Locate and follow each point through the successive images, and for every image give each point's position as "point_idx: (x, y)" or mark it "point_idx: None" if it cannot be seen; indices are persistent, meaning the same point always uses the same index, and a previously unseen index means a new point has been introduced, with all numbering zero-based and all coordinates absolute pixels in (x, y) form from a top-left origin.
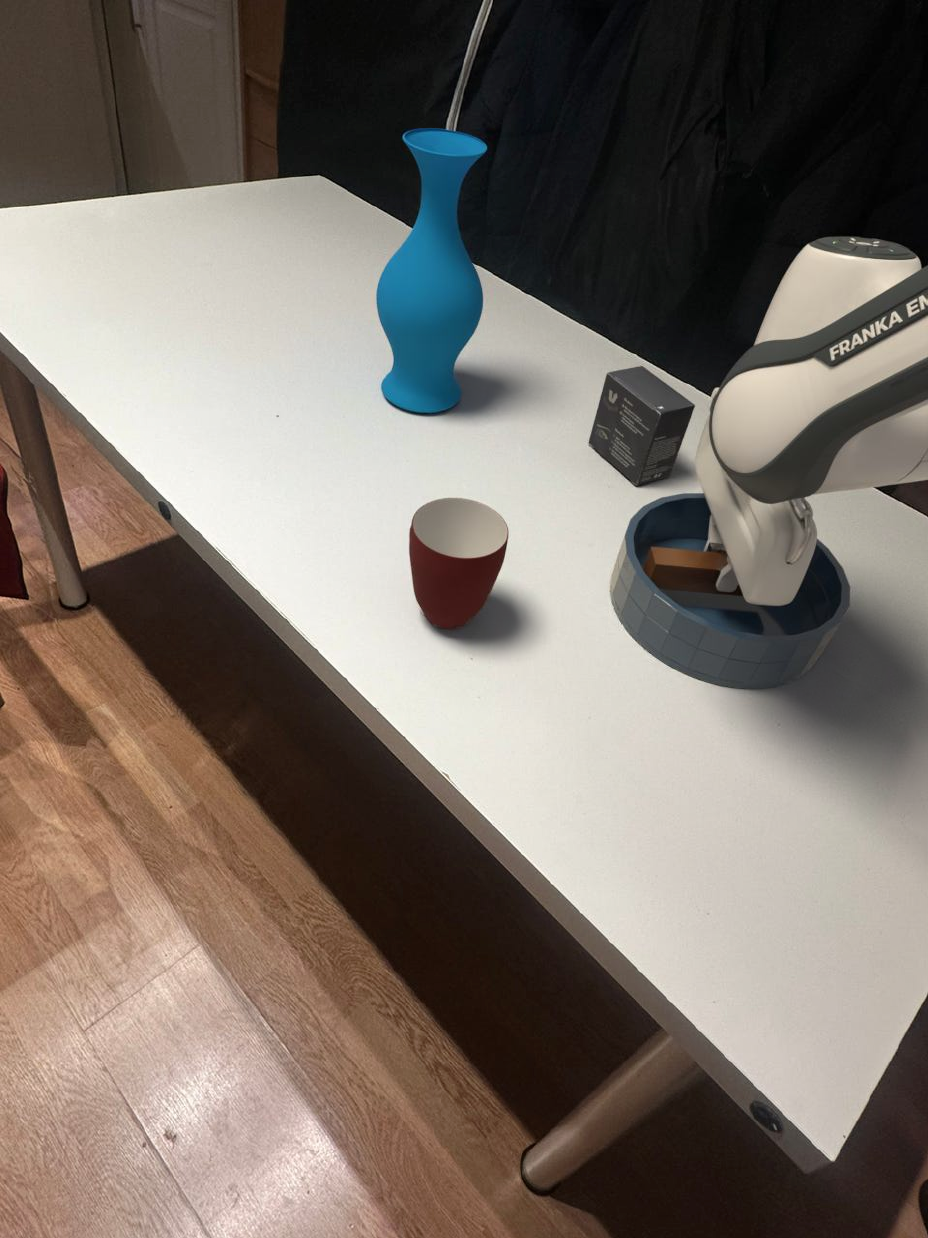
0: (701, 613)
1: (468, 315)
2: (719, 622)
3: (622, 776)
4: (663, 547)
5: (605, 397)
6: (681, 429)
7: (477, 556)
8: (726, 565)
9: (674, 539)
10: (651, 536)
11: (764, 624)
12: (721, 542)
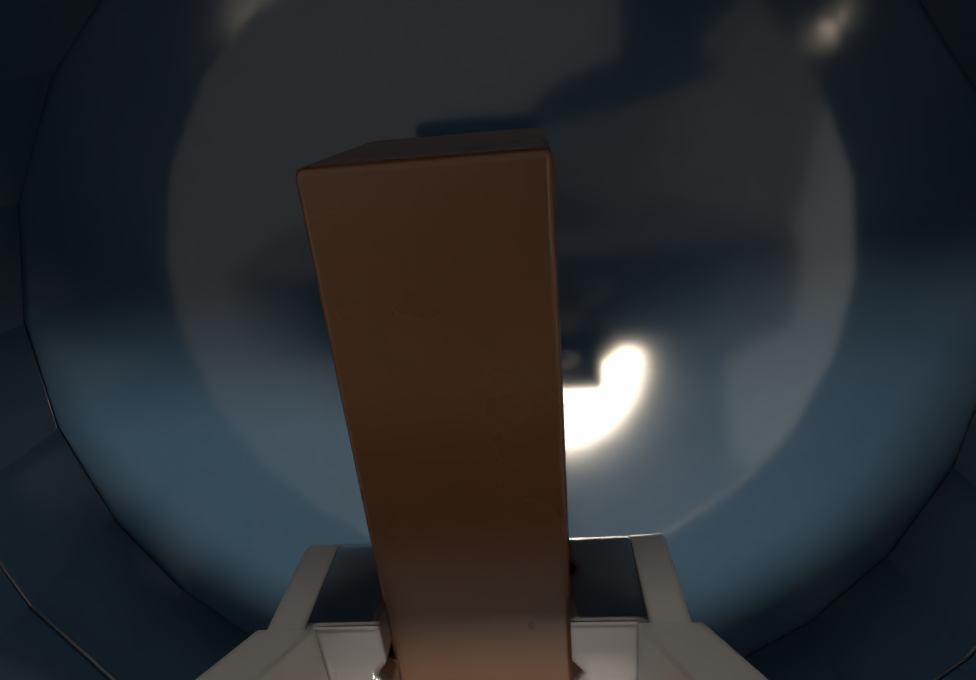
0: (584, 470)
1: None
2: (634, 407)
3: None
4: (192, 552)
5: None
6: None
7: None
8: (525, 638)
9: (114, 505)
10: (177, 635)
11: (628, 189)
12: (316, 672)
